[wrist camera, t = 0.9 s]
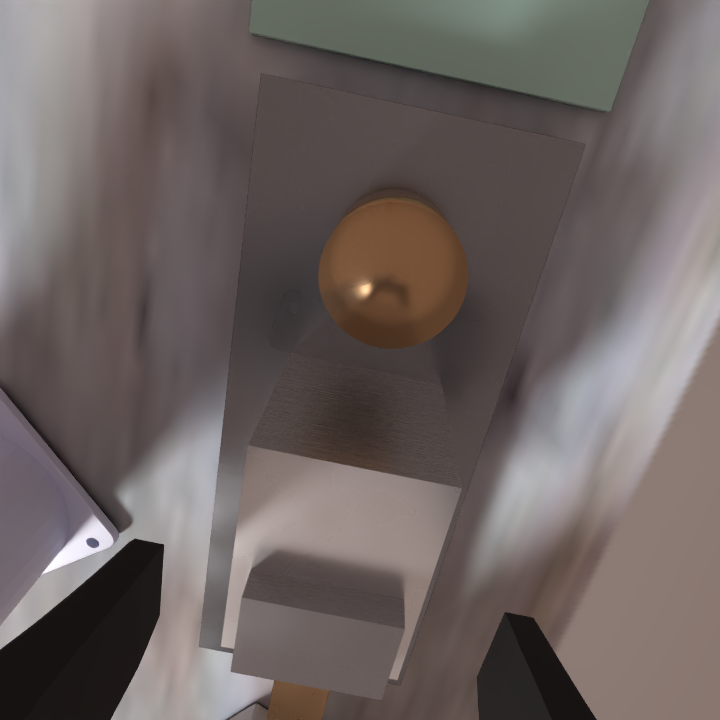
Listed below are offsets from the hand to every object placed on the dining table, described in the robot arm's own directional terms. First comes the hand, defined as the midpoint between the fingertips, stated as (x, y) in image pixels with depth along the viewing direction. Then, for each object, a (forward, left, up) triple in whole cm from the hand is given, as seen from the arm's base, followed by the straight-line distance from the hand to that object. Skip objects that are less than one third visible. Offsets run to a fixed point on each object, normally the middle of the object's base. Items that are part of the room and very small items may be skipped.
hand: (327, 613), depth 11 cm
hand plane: (0, 0, -9) cm, 9 cm away
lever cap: (0, 0, -6) cm, 6 cm away
